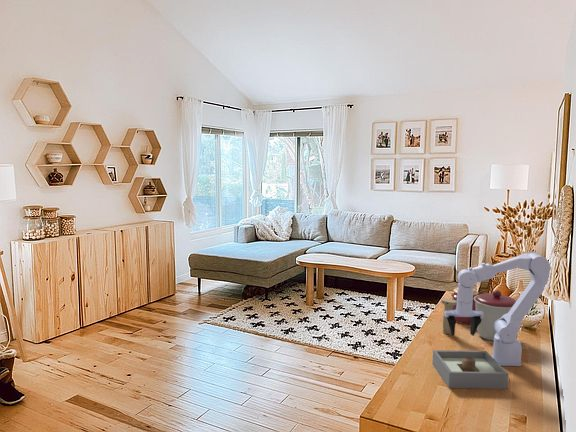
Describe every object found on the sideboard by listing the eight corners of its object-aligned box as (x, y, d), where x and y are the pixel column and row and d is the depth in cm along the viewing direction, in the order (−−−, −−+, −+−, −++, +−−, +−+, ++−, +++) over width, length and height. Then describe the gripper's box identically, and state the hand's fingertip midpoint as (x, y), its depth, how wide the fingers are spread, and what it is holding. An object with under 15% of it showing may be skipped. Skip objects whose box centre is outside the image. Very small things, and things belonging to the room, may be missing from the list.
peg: (470, 372, 170) (472, 357, 169) (476, 378, 166) (477, 362, 165) (459, 372, 170) (460, 357, 169) (464, 378, 165) (465, 362, 165)
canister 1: (443, 317, 228) (446, 281, 225) (464, 313, 233) (466, 279, 230) (463, 326, 216) (466, 289, 213) (484, 322, 221) (487, 286, 218)
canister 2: (524, 346, 194) (528, 297, 191) (480, 345, 195) (484, 296, 192) (505, 329, 212) (508, 284, 209) (465, 328, 212) (468, 284, 210)
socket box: (485, 364, 177) (486, 350, 176) (507, 388, 159) (508, 373, 158) (432, 364, 177) (433, 350, 176) (448, 387, 159) (449, 372, 158)
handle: (452, 336, 203) (454, 303, 201) (437, 332, 207) (439, 300, 205) (455, 333, 207) (458, 300, 205) (441, 329, 211) (443, 297, 209)
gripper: (479, 297, 183) (476, 330, 185) (442, 297, 183) (440, 330, 185) (486, 303, 176) (484, 338, 178) (448, 303, 176) (446, 337, 178)
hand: (462, 334), depth 181 cm, fingers open, 7 cm apart
